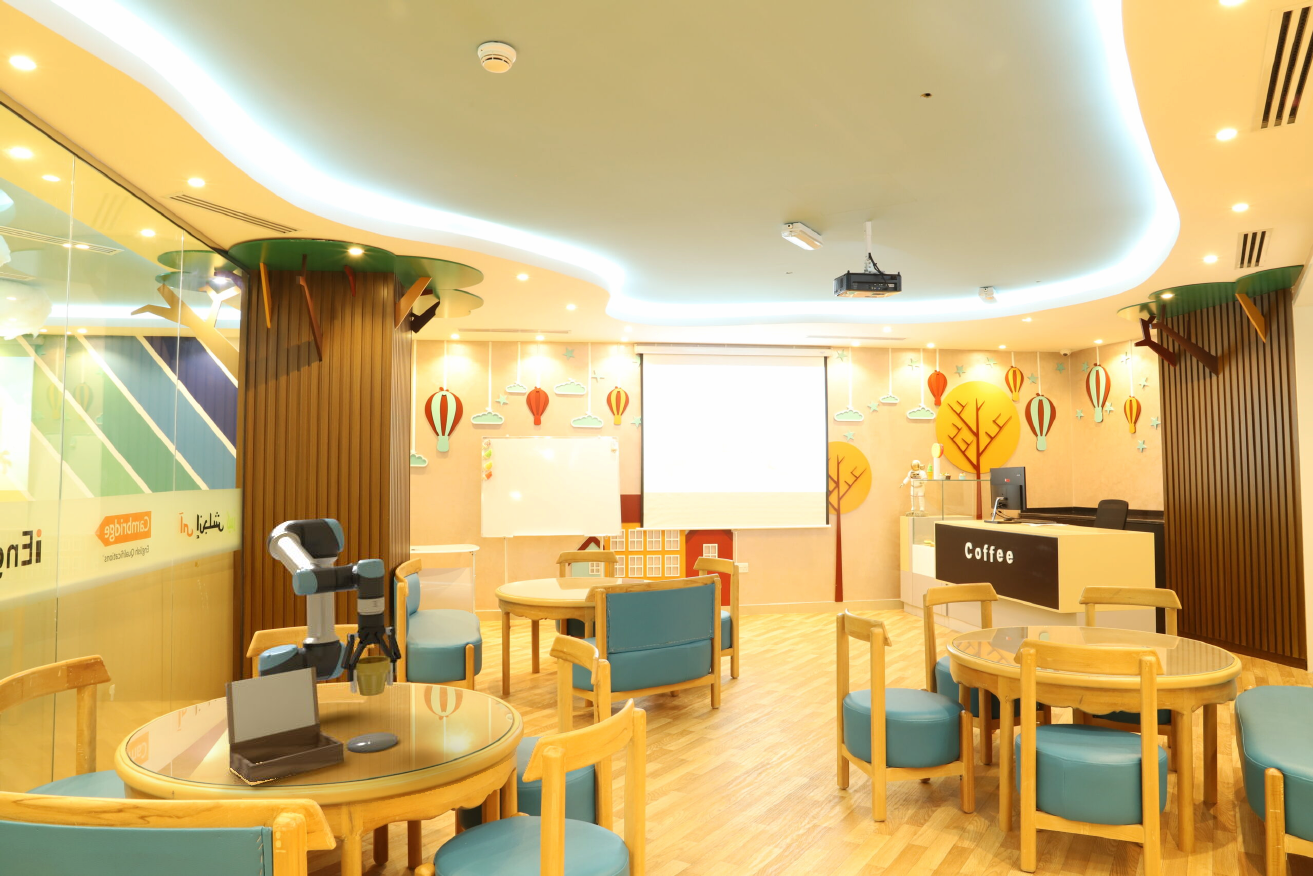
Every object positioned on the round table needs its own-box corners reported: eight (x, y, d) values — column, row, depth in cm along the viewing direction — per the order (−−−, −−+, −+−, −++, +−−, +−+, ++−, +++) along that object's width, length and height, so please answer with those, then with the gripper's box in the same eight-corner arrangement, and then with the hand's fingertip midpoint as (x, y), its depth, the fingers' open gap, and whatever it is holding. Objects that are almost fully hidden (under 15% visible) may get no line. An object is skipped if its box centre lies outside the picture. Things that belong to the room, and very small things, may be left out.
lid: (225, 741, 222) (225, 682, 223) (314, 721, 239) (313, 666, 239) (230, 744, 219) (230, 684, 220) (319, 724, 236) (319, 668, 237)
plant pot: (378, 698, 232) (378, 664, 233) (345, 697, 234) (345, 663, 235) (397, 689, 242) (396, 656, 243) (365, 688, 244) (365, 655, 245)
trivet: (338, 745, 238) (338, 741, 238) (384, 733, 248) (384, 729, 248) (359, 756, 228) (359, 751, 228) (406, 743, 238) (406, 739, 238)
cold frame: (229, 770, 219) (229, 744, 219) (318, 748, 236) (318, 723, 236) (250, 786, 207) (250, 758, 207) (343, 761, 224) (343, 735, 224)
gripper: (338, 619, 229) (338, 698, 228) (413, 608, 245) (414, 683, 244) (327, 616, 234) (328, 694, 233) (401, 606, 250) (402, 679, 249)
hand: (371, 688), depth 239 cm, fingers closed on plant pot, 10 cm apart
